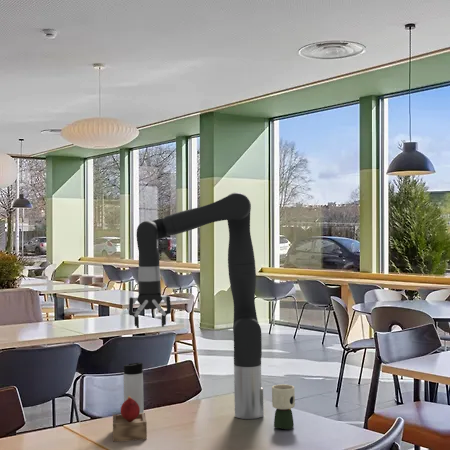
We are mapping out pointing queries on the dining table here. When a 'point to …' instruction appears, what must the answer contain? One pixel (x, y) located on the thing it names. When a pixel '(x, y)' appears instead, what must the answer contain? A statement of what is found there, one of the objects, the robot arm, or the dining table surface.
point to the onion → (130, 409)
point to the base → (129, 428)
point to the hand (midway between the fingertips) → (150, 327)
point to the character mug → (283, 405)
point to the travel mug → (134, 383)
